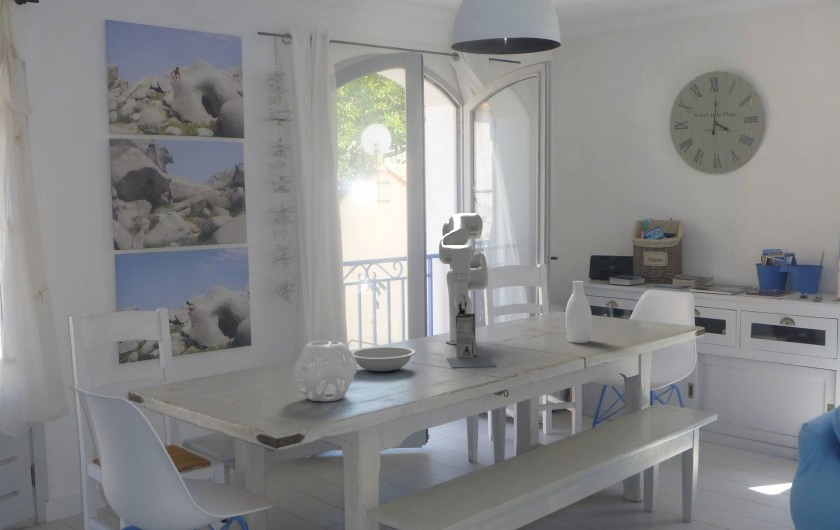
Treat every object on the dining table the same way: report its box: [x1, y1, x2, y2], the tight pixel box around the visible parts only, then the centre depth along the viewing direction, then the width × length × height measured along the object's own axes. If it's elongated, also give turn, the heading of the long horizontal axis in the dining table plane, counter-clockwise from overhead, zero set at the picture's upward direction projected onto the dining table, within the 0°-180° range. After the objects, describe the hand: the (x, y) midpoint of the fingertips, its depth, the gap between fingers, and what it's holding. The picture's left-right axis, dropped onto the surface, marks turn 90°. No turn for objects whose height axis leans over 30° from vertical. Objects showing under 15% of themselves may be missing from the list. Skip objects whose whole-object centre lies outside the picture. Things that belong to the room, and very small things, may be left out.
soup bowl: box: [351, 346, 417, 372], centre depth 307 cm, size 24×24×7 cm
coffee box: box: [455, 313, 477, 358], centre depth 330 cm, size 9×6×16 cm
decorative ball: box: [292, 340, 358, 403], centre depth 264 cm, size 20×20×17 cm
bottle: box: [564, 280, 593, 344], centre depth 359 cm, size 11×11×25 cm
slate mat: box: [446, 356, 497, 369], centre depth 318 cm, size 18×16×1 cm
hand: (462, 323), depth 342 cm, fingers closed
